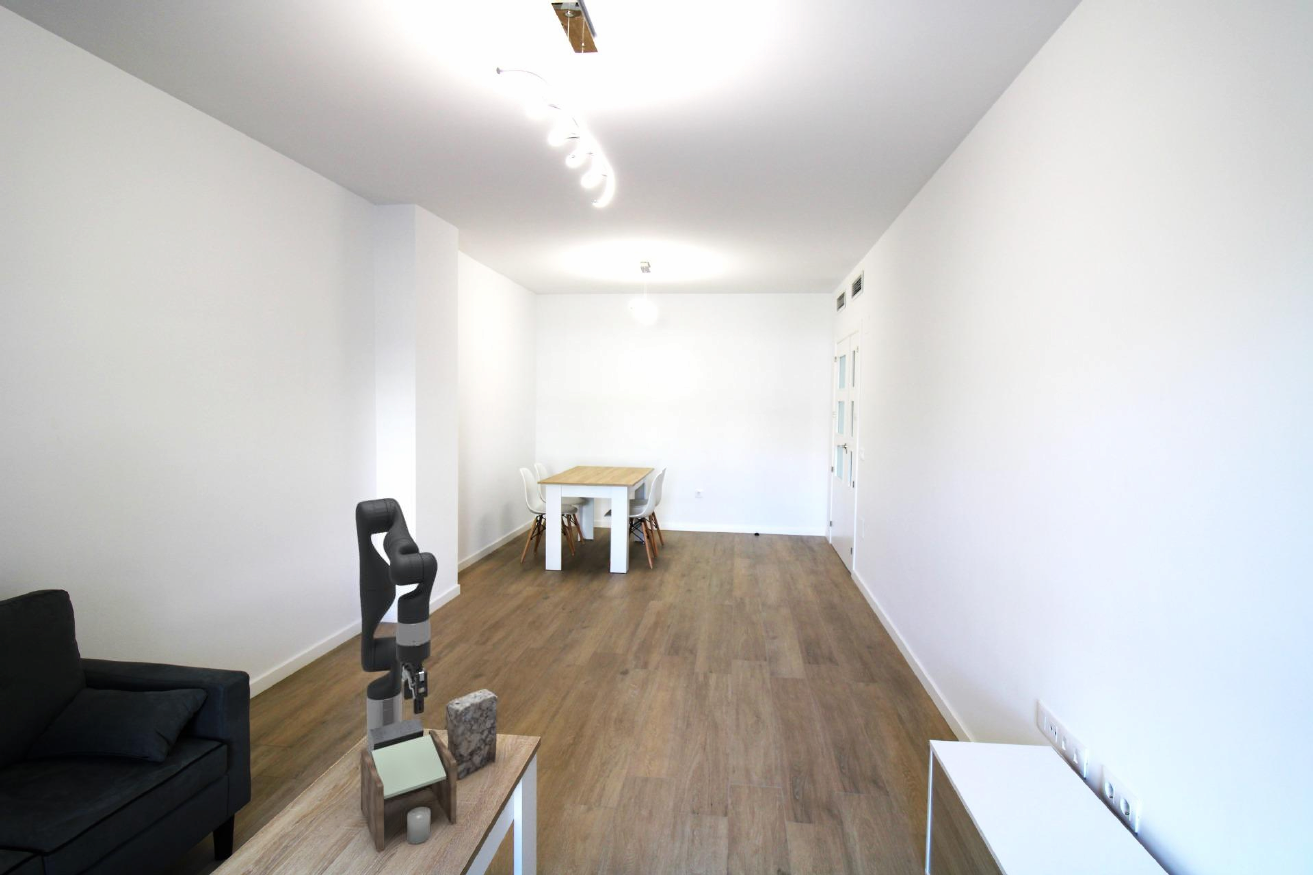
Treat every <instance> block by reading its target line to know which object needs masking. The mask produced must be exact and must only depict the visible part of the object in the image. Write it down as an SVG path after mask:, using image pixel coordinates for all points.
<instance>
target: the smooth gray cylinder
mask: <svg viewBox="0 0 1313 875" xmlns="http://www.w3.org/2000/svg"><path fill="white" fill-rule="evenodd" d="M406 819H407V821H406V822H407V824H406V826H407V828H406V830H407V831H406V832H407V833H406V841H407V842H408V843H409V844H411V845H418V844H422V843H424V842H426V841H428V839H429V838H430V837H431V809H430V808H429V807H426V806H419V807H415V808H413V809H411V810H410V811H408V813H407V816H406Z"/></svg>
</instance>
